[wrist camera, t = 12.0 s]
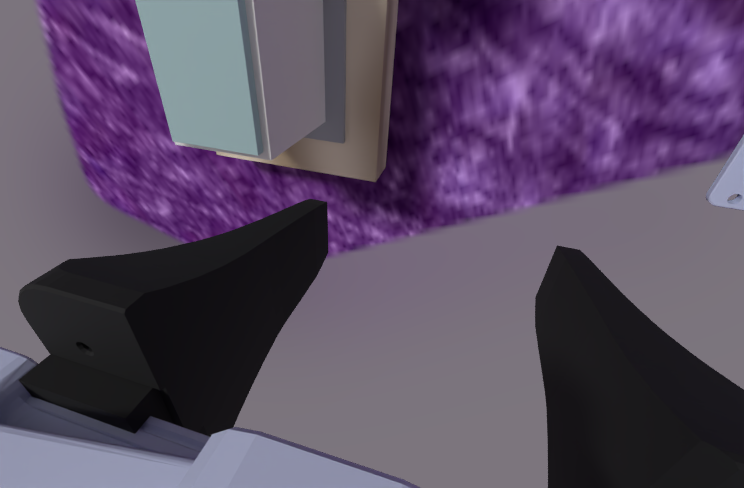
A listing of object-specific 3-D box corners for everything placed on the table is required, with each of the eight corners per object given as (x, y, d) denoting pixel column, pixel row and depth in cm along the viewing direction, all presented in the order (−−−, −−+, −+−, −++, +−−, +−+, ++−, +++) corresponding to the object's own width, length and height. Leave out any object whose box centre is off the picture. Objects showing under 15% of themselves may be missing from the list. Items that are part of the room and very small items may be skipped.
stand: (412, -179, 14) (397, -208, 12) (385, 167, 22) (374, 184, 20) (186, -172, 16) (141, -196, 14) (237, 142, 24) (213, 156, 22)
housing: (325, 121, 19) (266, 164, 14) (248, 110, 20) (168, 147, 15) (321, -87, 14) (230, -130, 9) (221, -89, 15) (92, -129, 10)
